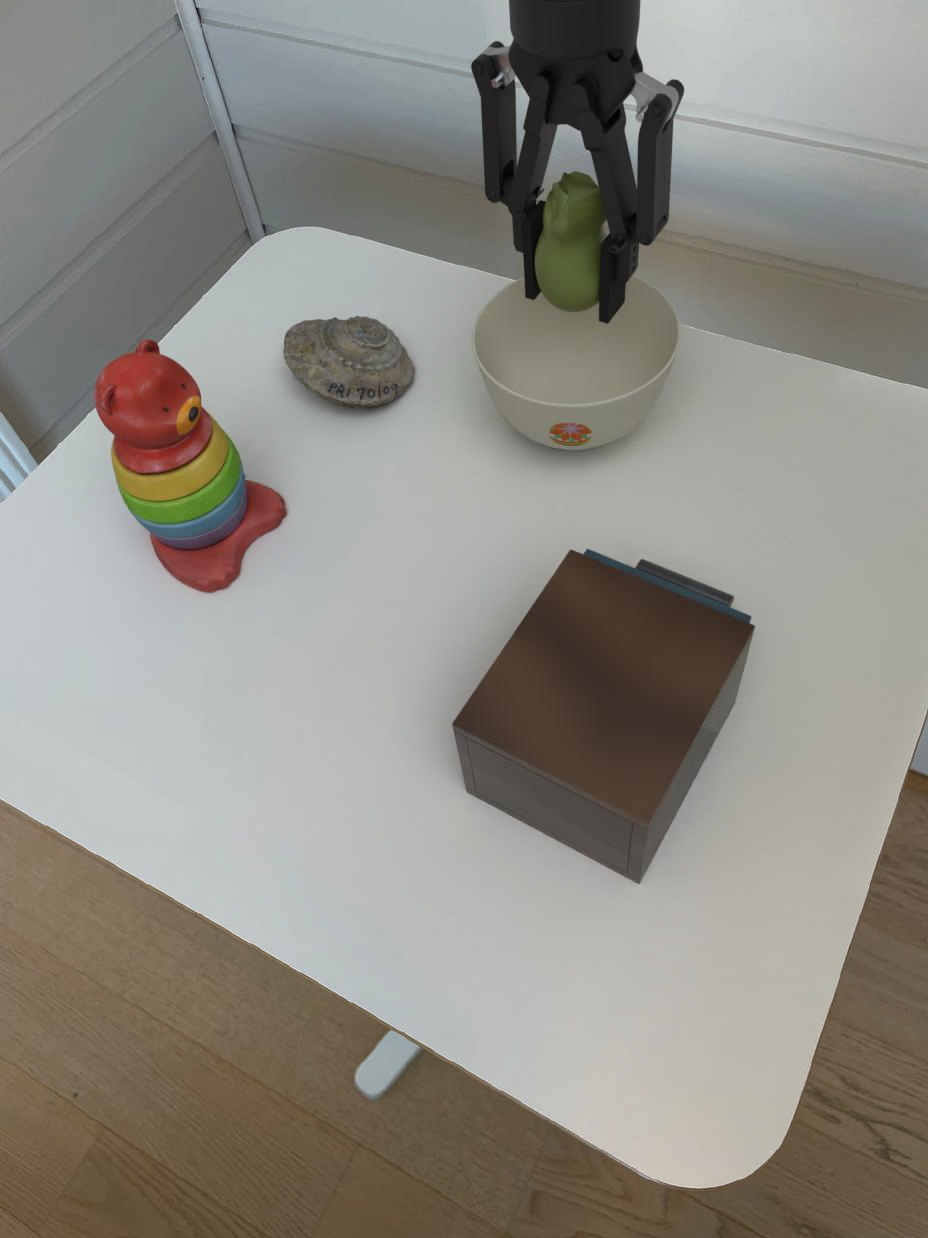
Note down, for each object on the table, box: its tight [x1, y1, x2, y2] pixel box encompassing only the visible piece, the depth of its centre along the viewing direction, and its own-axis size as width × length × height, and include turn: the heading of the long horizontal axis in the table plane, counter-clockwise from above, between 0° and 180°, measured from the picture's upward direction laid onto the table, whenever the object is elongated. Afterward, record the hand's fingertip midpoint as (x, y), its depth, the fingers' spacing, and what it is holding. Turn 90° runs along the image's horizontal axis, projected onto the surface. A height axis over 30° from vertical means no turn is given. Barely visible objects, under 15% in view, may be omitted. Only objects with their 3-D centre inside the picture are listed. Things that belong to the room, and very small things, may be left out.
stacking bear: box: [93, 339, 288, 593], centre depth 75 cm, size 11×10×18 cm
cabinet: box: [451, 549, 756, 885], centre depth 65 cm, size 15×13×10 cm
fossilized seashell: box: [282, 315, 416, 408], centre depth 90 cm, size 11×10×7 cm
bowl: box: [471, 274, 682, 452], centre depth 81 cm, size 16×16×10 cm
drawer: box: [583, 548, 752, 624], centre depth 66 cm, size 18×12×8 cm, turn 148°
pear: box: [535, 170, 608, 312], centre depth 71 cm, size 6×5×10 cm
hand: (574, 299), depth 75 cm, fingers closed on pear, 5 cm apart
